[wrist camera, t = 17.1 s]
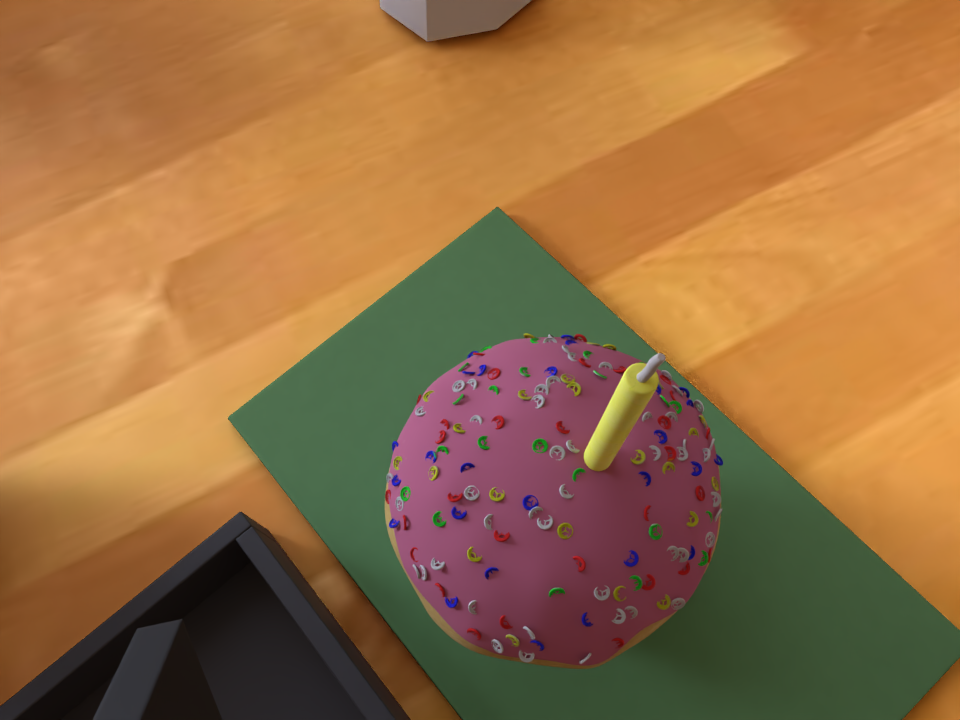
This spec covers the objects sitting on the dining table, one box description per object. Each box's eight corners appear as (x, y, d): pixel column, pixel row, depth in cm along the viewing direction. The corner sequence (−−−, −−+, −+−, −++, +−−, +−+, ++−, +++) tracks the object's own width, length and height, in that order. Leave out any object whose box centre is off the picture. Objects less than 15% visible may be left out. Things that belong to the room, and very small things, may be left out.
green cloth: (231, 421, 29) (226, 417, 28) (498, 212, 31) (497, 205, 31) (661, 974, 21) (663, 978, 21) (967, 644, 24) (974, 642, 23)
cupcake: (656, 377, 27) (714, 137, 16) (735, 649, 24) (876, 574, 13) (396, 429, 27) (282, 226, 17) (436, 708, 24) (325, 683, 13)
